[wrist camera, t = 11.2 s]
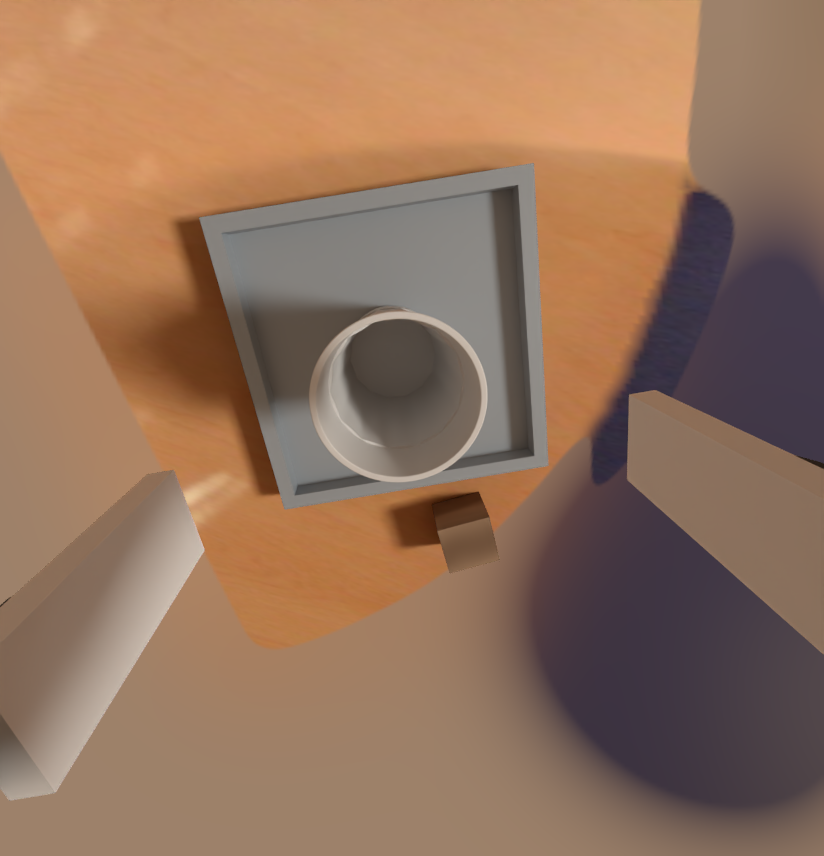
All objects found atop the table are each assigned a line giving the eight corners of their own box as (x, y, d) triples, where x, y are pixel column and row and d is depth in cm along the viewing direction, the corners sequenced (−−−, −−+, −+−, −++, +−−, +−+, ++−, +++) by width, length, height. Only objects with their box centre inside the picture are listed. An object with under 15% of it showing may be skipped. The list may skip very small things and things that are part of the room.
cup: (337, 406, 32) (314, 484, 21) (332, 291, 29) (303, 310, 18) (446, 406, 33) (481, 481, 21) (451, 293, 30) (494, 312, 19)
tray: (214, 221, 28) (198, 217, 26) (521, 171, 29) (533, 163, 26) (291, 493, 35) (284, 509, 33) (537, 452, 36) (548, 465, 33)
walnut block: (431, 503, 37) (437, 531, 33) (478, 491, 37) (489, 517, 33) (443, 543, 38) (449, 573, 34) (488, 530, 38) (499, 560, 34)
